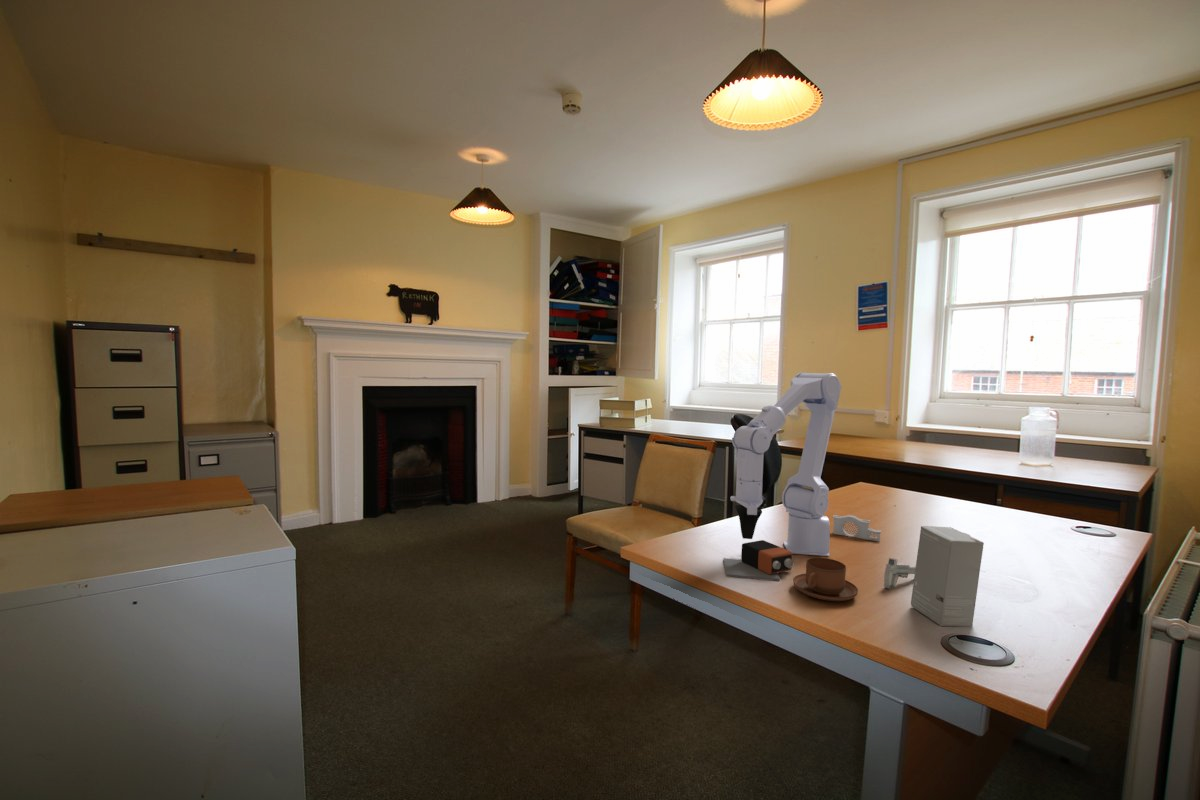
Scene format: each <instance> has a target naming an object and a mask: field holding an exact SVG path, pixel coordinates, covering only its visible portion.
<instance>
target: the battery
mask: <svg viewBox="0 0 1200 800" xmlns="http://www.w3.org/2000/svg"><path fill="white" fill-rule="evenodd" d="M740 556H741V557H740V559H741V561H742V562H744V563H746V564H748V565H750V566H752V567H754V568H756V569H759V570H761V571H763V572H765V573H767V574H769V575H771V574H776V573H778V574H779V573H785V572H786V573H787V572H790V571H792V567H794V560H793V553H792V552H791V551H789V550H787V549H786V548H784V547H781V546H778V545H776V544H773V543H771V542H770V541H767V540H763V539H762V540H755V541H749V542H744V543H742V544H741V555H740Z"/></svg>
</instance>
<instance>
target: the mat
mask: <svg viewBox="0 0 1200 800" xmlns="http://www.w3.org/2000/svg"><path fill="white" fill-rule="evenodd" d="M723 563H724V564H723V565H724V570H725V575H726V577H728V578H729V577H730V578H738V579H740V578H742V579H752V580H753V579H754V580H755V579H756V580H762V581H763V580H766V581H767V580H768V581H778V582H780V581H781V578H780V575H779V573H776V574H771V575H769V574H767V573H765V572H763V571H761V570H759V569H756V568H754V567H752V566H750V565H748V564H746V563H744V562H742V561H741V558H740V559H738V558H726V557H724V558H723Z"/></svg>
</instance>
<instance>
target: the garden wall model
mask: <svg viewBox="0 0 1200 800" xmlns="http://www.w3.org/2000/svg"><path fill="white" fill-rule="evenodd" d="M832 518H833V525H832V526H833V528H832V533H833V534H834V535H840V536H845V537H847V536H848V537H849V538H856V539H862V540H868V541H875V542H880V541H881V534H882V530H881V529H874V528H869V526H870V524H871V520H870V519H862V518H859V517H858V516H855V515H852V514H847V515H842V516H841V515H837V514H833V515H832ZM848 537H847V538H848Z"/></svg>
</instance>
